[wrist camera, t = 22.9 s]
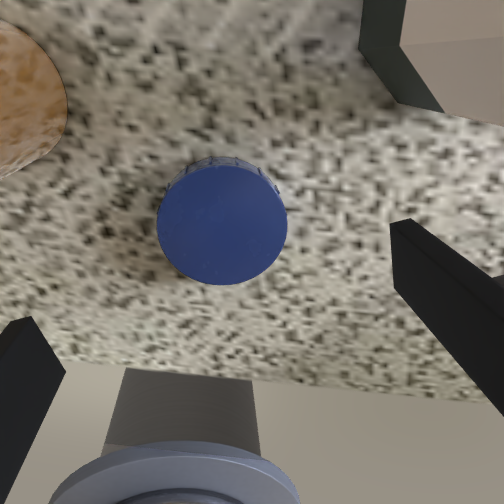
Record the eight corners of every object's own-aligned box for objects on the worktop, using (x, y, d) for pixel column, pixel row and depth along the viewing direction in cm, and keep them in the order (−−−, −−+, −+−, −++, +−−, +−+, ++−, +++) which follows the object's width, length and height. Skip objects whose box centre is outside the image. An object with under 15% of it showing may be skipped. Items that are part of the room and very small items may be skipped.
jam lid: (287, 158, 19) (294, 166, 17) (277, 270, 22) (282, 285, 20) (156, 154, 18) (151, 162, 17) (164, 270, 21) (160, 286, 19)
